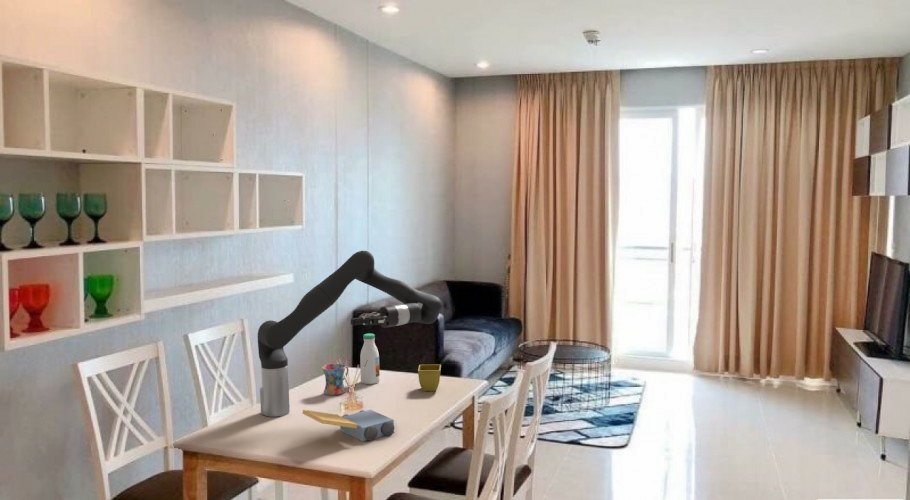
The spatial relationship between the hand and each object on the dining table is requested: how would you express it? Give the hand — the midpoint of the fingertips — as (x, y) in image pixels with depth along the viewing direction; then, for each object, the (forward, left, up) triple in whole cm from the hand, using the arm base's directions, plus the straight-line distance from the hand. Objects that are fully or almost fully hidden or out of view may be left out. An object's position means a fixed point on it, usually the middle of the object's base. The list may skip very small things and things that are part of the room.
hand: (352, 322), depth 249 cm
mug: (-18, +29, -34) cm, 48 cm away
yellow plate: (+4, -17, -29) cm, 34 cm away
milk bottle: (-10, +45, -34) cm, 57 cm away
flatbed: (+9, -11, -34) cm, 37 cm away
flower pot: (+17, +39, -34) cm, 55 cm away
